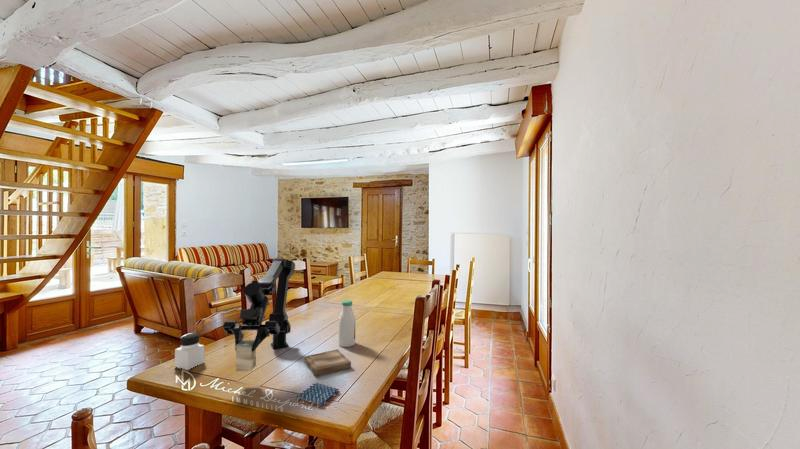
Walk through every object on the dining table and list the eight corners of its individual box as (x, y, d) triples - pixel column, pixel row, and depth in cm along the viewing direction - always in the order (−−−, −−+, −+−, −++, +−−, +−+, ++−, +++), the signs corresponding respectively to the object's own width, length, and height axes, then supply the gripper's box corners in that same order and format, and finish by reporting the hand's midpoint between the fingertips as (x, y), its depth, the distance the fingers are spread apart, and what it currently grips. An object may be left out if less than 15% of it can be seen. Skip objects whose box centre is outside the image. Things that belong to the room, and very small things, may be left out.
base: (304, 362, 128) (304, 356, 128) (337, 355, 135) (337, 348, 135) (315, 377, 116) (315, 370, 116) (350, 368, 124) (350, 361, 124)
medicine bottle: (204, 362, 127) (205, 332, 127) (187, 370, 120) (187, 339, 120) (191, 359, 129) (191, 330, 129) (174, 367, 123) (174, 336, 122)
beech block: (241, 365, 113) (241, 340, 113) (256, 365, 113) (256, 340, 113) (236, 371, 109) (236, 345, 109) (251, 371, 109) (251, 345, 109)
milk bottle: (351, 348, 143) (352, 303, 142) (335, 346, 144) (336, 302, 144) (357, 341, 150) (357, 299, 150) (342, 340, 152) (342, 298, 152)
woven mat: (322, 411, 97) (322, 404, 97) (294, 402, 101) (294, 396, 101) (341, 393, 106) (341, 387, 106) (315, 386, 110) (315, 381, 110)
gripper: (224, 298, 114) (207, 341, 103) (277, 298, 115) (265, 340, 104) (235, 314, 122) (220, 354, 111) (284, 314, 123) (274, 354, 112)
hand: (244, 351), depth 109 cm, fingers closed on beech block, 5 cm apart
